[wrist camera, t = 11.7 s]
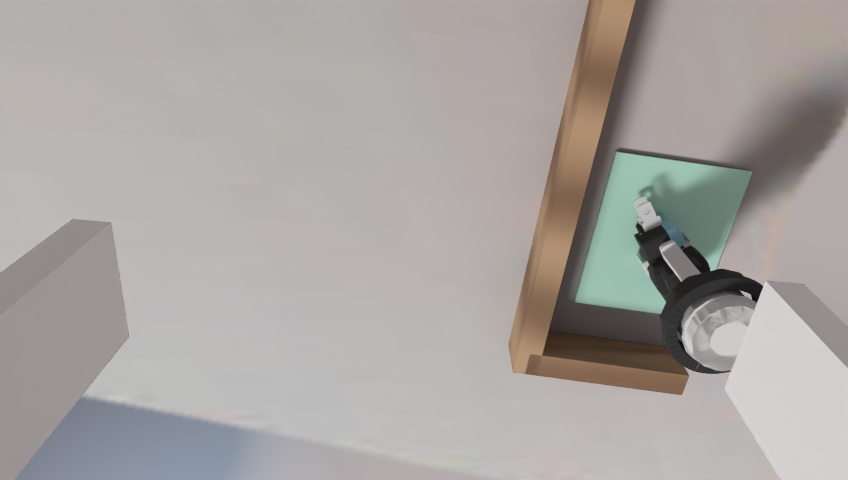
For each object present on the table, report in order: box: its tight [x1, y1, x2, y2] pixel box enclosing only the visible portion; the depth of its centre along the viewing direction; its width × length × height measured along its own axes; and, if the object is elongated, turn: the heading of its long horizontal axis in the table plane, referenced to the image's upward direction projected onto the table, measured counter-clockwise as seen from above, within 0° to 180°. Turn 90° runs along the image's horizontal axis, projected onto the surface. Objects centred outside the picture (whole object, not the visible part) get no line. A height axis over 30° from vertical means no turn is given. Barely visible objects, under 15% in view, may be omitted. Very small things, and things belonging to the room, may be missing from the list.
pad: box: [574, 151, 752, 314], centre depth 37 cm, size 10×8×1 cm
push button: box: [633, 196, 763, 374], centre depth 33 cm, size 7×5×10 cm
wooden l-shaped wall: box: [509, 0, 689, 395], centre depth 35 cm, size 24×11×3 cm, turn 172°
